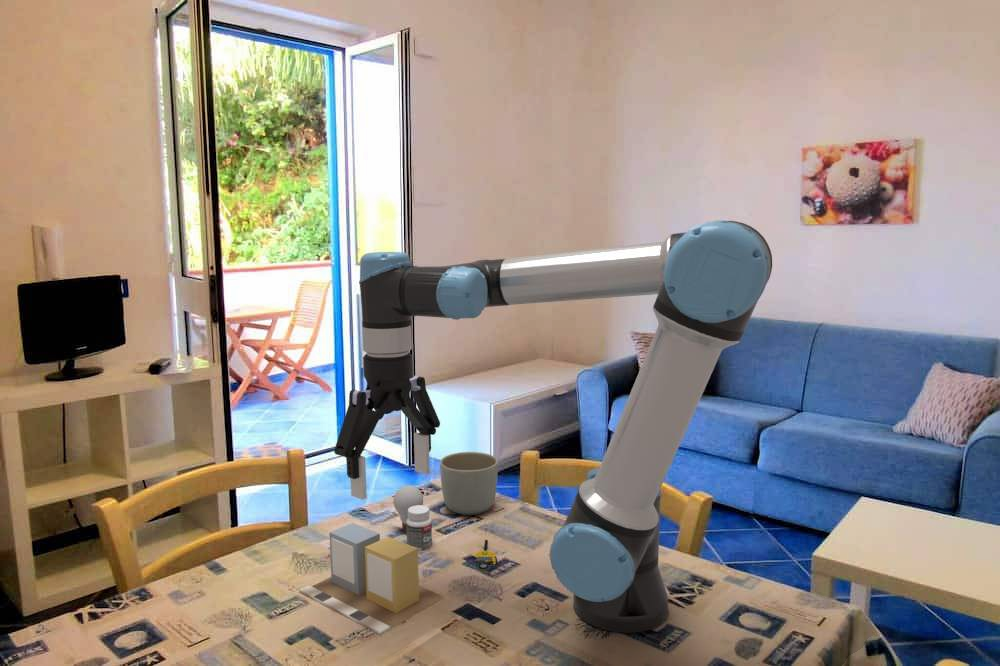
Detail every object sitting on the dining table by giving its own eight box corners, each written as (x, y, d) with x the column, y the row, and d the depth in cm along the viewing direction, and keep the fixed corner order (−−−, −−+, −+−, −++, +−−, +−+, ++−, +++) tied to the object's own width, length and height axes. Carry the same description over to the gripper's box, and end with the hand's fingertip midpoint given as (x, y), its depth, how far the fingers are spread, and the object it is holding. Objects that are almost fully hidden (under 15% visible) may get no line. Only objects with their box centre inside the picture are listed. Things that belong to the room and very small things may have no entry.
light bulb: (392, 529, 149) (390, 482, 148) (420, 526, 151) (419, 479, 149) (397, 542, 144) (395, 493, 142) (426, 538, 146) (425, 489, 144)
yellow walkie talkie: (469, 572, 129) (473, 534, 144) (469, 582, 129) (474, 544, 144) (496, 571, 129) (498, 534, 143) (496, 582, 129) (498, 543, 144)
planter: (474, 493, 168) (473, 448, 167) (509, 510, 159) (509, 461, 157) (429, 507, 161) (428, 459, 159) (464, 525, 151) (463, 475, 149)
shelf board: (444, 603, 121) (444, 594, 121) (380, 642, 110) (380, 631, 110) (364, 567, 133) (364, 558, 133) (299, 598, 123) (299, 589, 123)
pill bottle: (427, 557, 137) (427, 515, 136) (403, 555, 138) (402, 513, 137) (435, 546, 142) (434, 505, 140) (411, 544, 143) (410, 503, 141)
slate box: (354, 571, 130) (352, 522, 128) (381, 583, 125) (379, 533, 124) (330, 582, 126) (328, 532, 124) (357, 595, 121) (355, 544, 120)
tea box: (389, 586, 124) (387, 536, 123) (419, 600, 120) (417, 548, 118) (365, 599, 120) (363, 547, 119) (395, 613, 116) (393, 560, 114)
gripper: (426, 339, 126) (429, 458, 129) (305, 362, 106) (312, 502, 110) (459, 343, 121) (461, 467, 124) (339, 369, 102) (345, 515, 105)
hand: (392, 484), depth 117 cm, fingers open, 13 cm apart
